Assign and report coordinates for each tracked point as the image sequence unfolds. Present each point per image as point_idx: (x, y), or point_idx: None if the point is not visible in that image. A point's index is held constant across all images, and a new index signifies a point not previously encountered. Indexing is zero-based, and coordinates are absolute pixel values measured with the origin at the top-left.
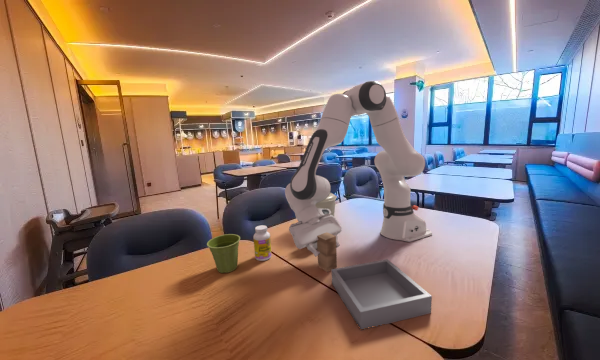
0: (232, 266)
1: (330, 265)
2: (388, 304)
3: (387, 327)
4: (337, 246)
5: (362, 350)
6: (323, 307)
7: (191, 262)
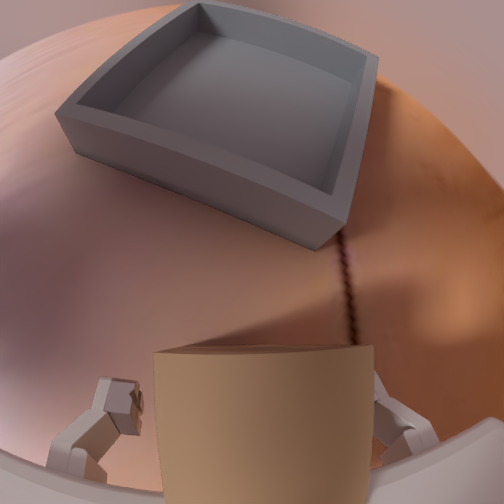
0: None
1: (244, 345)
2: (305, 25)
3: None
4: (128, 380)
5: (380, 77)
6: (403, 184)
7: None
